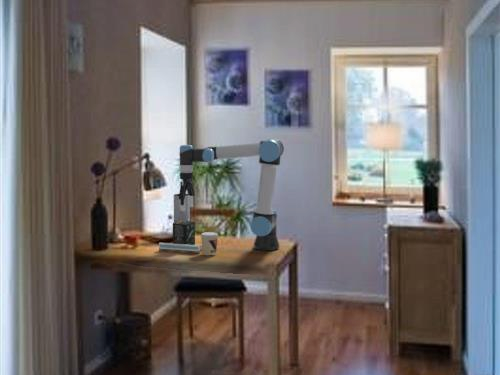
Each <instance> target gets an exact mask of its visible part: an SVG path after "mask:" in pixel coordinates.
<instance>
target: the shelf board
mask: <svg viewBox="0 0 500 375" xmlns="http://www.w3.org/2000/svg"><path fill="white" fill-rule="evenodd" d="M158 251H159V252H165V253H166V252H168V253H178V252H181V254H192V253H200V252H201V253H202V245H199V251H186V250H172V249H159V248H158ZM201 253H200V254H201Z"/></svg>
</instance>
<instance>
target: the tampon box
mask: <svg viewBox="0 0 500 375" xmlns="http://www.w3.org/2000/svg"><path fill="white" fill-rule="evenodd" d="M172 244H186V245H196V221H195V220H190V221H187V220H181V221H178V222H175V223H174V222H173V223H172Z"/></svg>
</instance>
